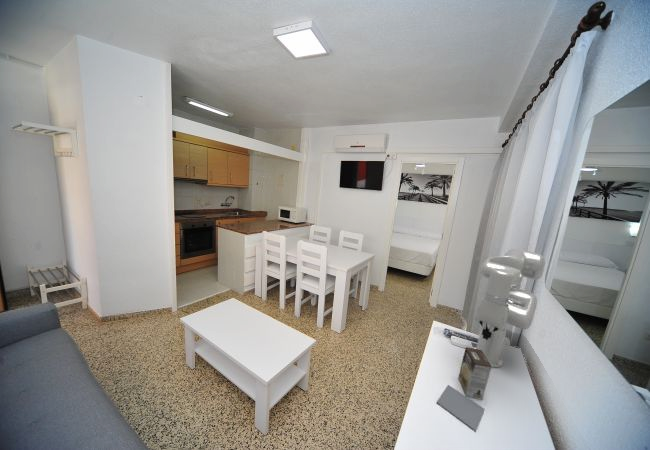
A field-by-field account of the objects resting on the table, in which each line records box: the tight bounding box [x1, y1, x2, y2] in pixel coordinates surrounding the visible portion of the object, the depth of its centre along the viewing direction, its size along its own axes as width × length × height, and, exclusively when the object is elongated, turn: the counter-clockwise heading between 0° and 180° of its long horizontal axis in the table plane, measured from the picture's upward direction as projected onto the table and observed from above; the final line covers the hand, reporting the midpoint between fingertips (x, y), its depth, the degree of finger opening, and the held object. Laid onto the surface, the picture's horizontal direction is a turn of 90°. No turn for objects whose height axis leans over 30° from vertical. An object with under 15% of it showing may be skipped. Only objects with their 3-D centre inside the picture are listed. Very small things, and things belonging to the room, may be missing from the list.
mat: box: [436, 384, 485, 433], centre depth 85 cm, size 12×13×1 cm
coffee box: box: [457, 346, 493, 401], centre depth 92 cm, size 9×6×16 cm
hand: (485, 337), depth 96 cm, fingers closed
